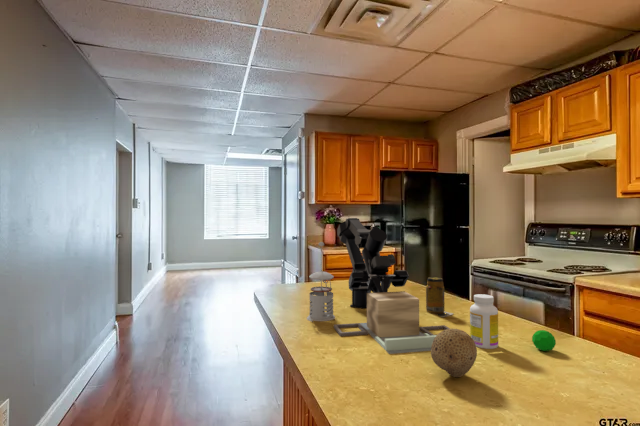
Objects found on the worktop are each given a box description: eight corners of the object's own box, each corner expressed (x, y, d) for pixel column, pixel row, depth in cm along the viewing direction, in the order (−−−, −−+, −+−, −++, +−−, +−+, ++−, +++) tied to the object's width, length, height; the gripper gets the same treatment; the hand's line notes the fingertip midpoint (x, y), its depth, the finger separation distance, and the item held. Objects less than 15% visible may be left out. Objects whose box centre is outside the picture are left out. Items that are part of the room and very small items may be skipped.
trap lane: (331, 326, 111) (331, 316, 111) (429, 320, 117) (429, 310, 117) (355, 358, 86) (355, 345, 86) (476, 348, 92) (476, 336, 92)
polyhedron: (527, 348, 92) (527, 329, 92) (540, 345, 94) (540, 327, 94) (546, 355, 88) (546, 335, 88) (560, 352, 90) (560, 332, 90)
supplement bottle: (496, 342, 96) (496, 294, 96) (500, 351, 90) (499, 299, 90) (469, 340, 98) (469, 292, 99) (470, 348, 92) (470, 297, 92)
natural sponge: (452, 390, 70) (451, 338, 70) (421, 372, 79) (421, 325, 79) (486, 381, 74) (486, 332, 74) (454, 364, 82) (454, 320, 82)
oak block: (366, 326, 109) (366, 293, 109) (404, 323, 111) (404, 291, 111) (378, 337, 99) (378, 300, 99) (419, 334, 102) (419, 298, 102)
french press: (301, 320, 117) (301, 242, 117) (315, 311, 127) (315, 240, 127) (330, 324, 113) (330, 243, 113) (342, 314, 124) (342, 240, 124)
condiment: (432, 309, 130) (432, 275, 130) (454, 314, 124) (454, 279, 124) (420, 312, 126) (420, 278, 126) (442, 318, 119) (442, 281, 119)
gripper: (350, 246, 114) (361, 288, 103) (406, 245, 118) (422, 285, 107) (344, 267, 122) (353, 309, 111) (396, 266, 125) (410, 306, 115)
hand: (385, 302), depth 111 cm, fingers closed
